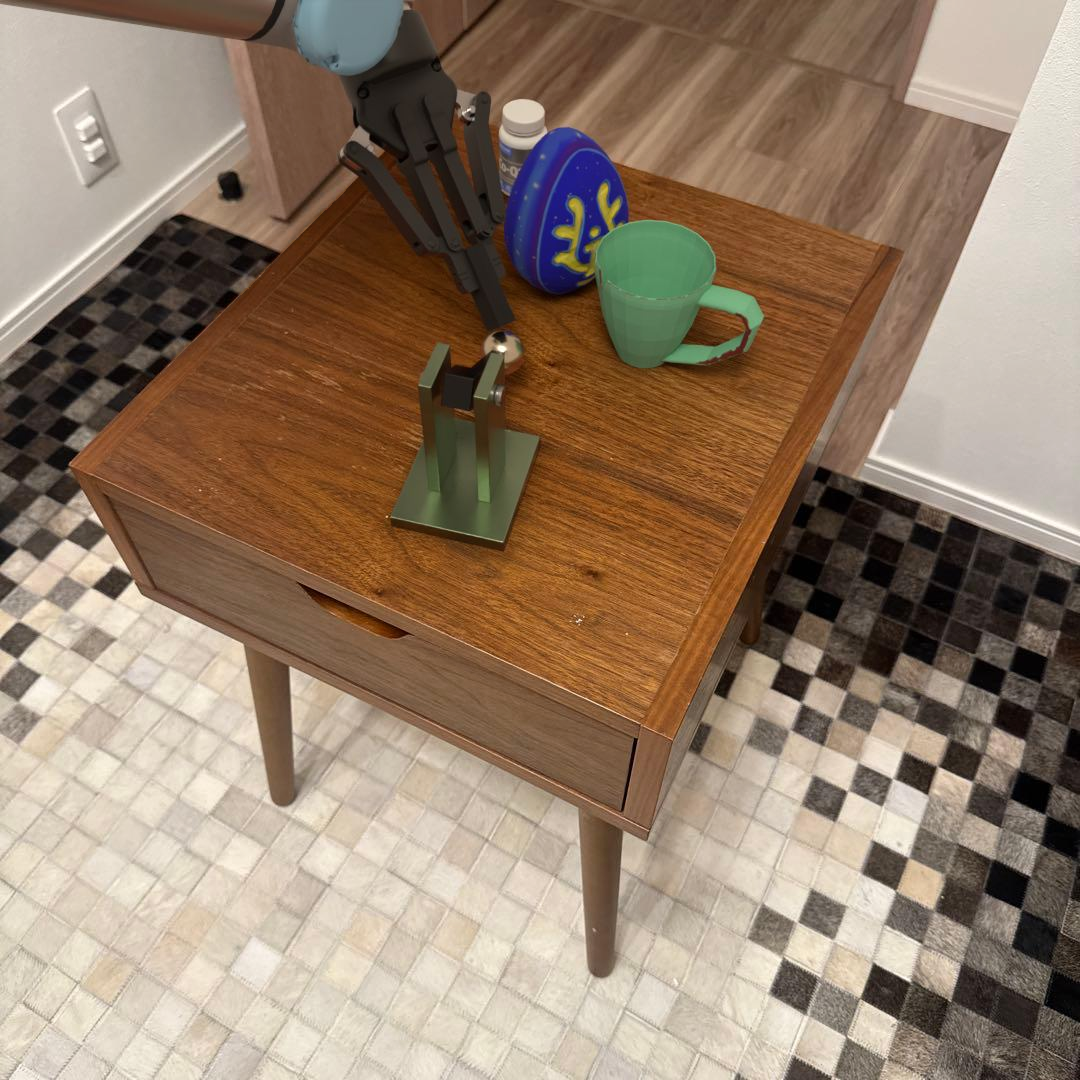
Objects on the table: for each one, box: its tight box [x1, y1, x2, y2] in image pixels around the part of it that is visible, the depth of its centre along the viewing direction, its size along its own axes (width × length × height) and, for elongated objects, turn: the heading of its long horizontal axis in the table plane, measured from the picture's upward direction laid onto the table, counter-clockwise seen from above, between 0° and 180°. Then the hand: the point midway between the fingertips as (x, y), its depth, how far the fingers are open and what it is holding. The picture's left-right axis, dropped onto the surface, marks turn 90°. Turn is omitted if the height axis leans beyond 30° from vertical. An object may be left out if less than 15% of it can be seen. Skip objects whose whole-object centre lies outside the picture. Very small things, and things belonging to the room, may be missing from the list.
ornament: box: [503, 126, 630, 295], centre depth 94 cm, size 11×9×15 cm
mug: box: [595, 219, 765, 369], centre depth 90 cm, size 15×10×10 cm
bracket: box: [389, 341, 541, 552], centre depth 80 cm, size 11×9×13 cm
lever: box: [441, 329, 526, 412], centre depth 82 cm, size 15×4×4 cm
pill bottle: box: [498, 98, 549, 197], centre depth 104 cm, size 5×5×8 cm
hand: (501, 325), depth 85 cm, fingers closed
